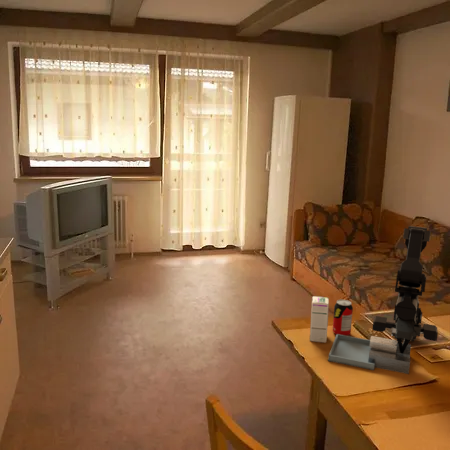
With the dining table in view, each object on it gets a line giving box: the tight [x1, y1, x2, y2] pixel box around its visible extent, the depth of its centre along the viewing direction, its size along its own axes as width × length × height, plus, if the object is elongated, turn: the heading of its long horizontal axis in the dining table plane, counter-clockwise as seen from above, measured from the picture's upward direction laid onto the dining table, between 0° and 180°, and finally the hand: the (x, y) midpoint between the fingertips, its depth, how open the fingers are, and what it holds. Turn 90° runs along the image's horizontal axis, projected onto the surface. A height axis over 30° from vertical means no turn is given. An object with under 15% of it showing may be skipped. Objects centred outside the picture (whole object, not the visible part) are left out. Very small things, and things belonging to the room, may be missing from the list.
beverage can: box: [332, 298, 354, 336], centre depth 169 cm, size 6×6×12 cm
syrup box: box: [309, 295, 330, 344], centre depth 165 cm, size 6×6×14 cm
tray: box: [327, 334, 376, 371], centre depth 157 cm, size 16×14×2 cm
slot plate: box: [368, 342, 412, 375], centre depth 153 cm, size 12×12×4 cm
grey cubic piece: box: [382, 337, 397, 355], centre depth 152 cm, size 4×4×4 cm
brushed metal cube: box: [369, 335, 385, 352], centre depth 154 cm, size 4×4×4 cm
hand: (401, 352), depth 151 cm, fingers closed
